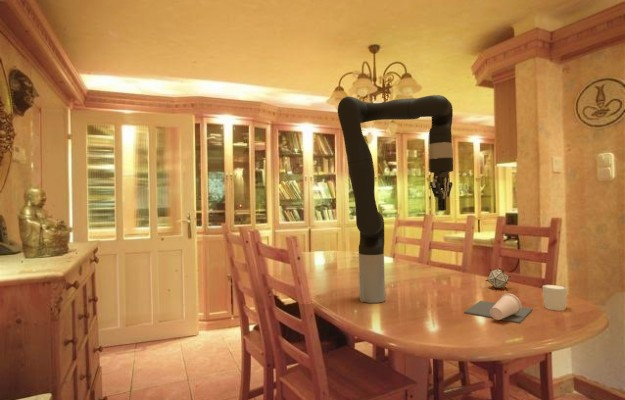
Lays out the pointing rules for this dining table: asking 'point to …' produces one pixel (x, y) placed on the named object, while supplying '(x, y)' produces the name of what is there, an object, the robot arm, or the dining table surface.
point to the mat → (484, 310)
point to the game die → (498, 278)
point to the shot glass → (555, 297)
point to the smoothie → (506, 307)
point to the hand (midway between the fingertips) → (442, 210)
